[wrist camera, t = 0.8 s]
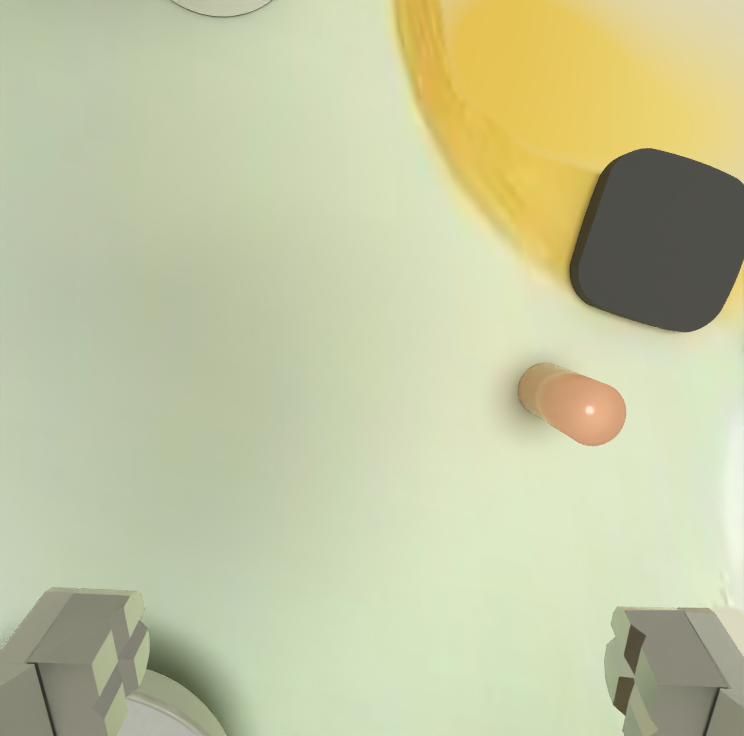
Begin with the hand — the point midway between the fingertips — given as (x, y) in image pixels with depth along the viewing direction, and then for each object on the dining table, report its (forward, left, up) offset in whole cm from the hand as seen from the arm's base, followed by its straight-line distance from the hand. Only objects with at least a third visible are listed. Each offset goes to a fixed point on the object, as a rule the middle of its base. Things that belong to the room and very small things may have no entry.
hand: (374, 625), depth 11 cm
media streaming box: (-5, +31, -47) cm, 56 cm away
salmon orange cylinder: (+7, +19, -46) cm, 50 cm away
